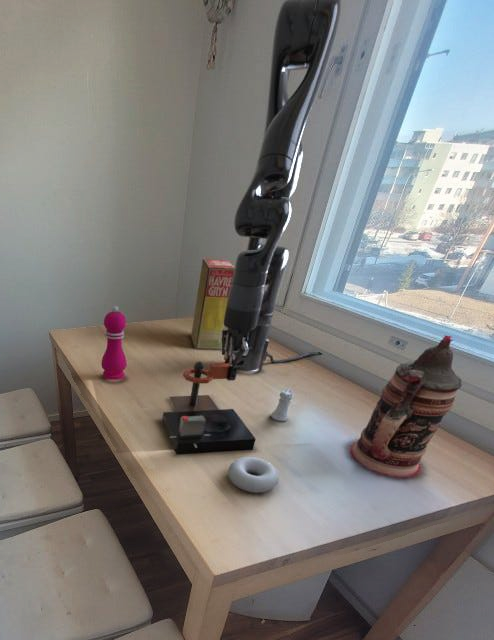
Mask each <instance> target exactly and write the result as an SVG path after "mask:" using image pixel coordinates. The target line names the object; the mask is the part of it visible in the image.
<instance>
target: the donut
mask: <svg viewBox="0 0 494 640" xmlns="http://www.w3.org/2000/svg"><path fill="white" fill-rule="evenodd" d="M227 473H228V478H229V480H230V481H231V483H232V485H234V486H236V487H237V488H238V489H240V490H243V491H245V492H249V493H252V494H253V493H254V494H260V493H266V492H269V491H272V490H274V488H275V487H276V486H277V485H278V484H279V477H280V475H279V472H278V470H277V469H276V467H275V466H273V464H271V463H270V462H268V460H265V459H262V458H260V457H254V456H244V457H240V458H237V459H235V460H234V461H233V462H231V463H230V465H229V467H228V469H227Z"/></svg>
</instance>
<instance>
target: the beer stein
mask: <svg viewBox="0 0 494 640" xmlns="http://www.w3.org/2000/svg"><path fill="white" fill-rule="evenodd" d="M451 338H452V335H444V336H442V339H441V340H439V341H440V342H439V343H438V344H437V345H435V346H429V347H428V348H426V349H425V350H423V352H422V353H421V354H420V355H419V356H418V357H417V359H415V360H414V361H412V360H411V361H409V362H404V363H400V364H399V365H397V366H396V369H395V371H394V373H393V375H392V376H391V377H390V379H389V381H388V382H387V383H386V384H385V385H384V386H383V387H382V389H381V396H380V398H379V400H377V402H376V406H375V407H374V409H373V411H372V413H371V416H370V419H369V420H368V423H367V424H366V427H365V428H363V429H362V430H361V433H360V437H359V438H358V440H357V441H355V442H353V443H352V444H350V446H349V454H350V457H351V459H353V460H354V461H355V462H356V463H358V464H359V465H361V466H362V467H364V468H365V469H369V470H371V472H374V473H377V474H380V475H384V476H388V477H391V478H398V479H402V480H404V478H413V477H415V476H417V475H419V473H421V464H420V463H421V459H422V457H423V456H424V455H425V454H426V453H427V449H428V444H429V443H430V442H431V439H432V438H433V437H434V436H435V434H436V433H437V431H438V429H439V427H441V425H442V420H443V418H444V416H446V414H447V413H448V412H450V411H451V410H452V409H453V406H454V401H455V399H456V396H457V393H458V390H459V389H461V387H462V385H463V383H462V378H461V377H460V376H458V375H457V374H456V372H455V371H454V369H453V368H452V366H453V365H452V363H453V359H454V352H453V350H452V349H451V346H450V345H451V342H453V341H454V339H453V338H452V339H451Z"/></svg>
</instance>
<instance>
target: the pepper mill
mask: <svg viewBox="0 0 494 640" xmlns="http://www.w3.org/2000/svg"><path fill="white" fill-rule="evenodd" d="M119 309H120V308H119V307H118V306H117V305H113V306H112V307H111V311H110V312H108V313H107V314H106V315H105V316H104V319H103V326H104V328H105V329H106V330H105V338H106V340H107V342H106V349H105V351H104V353H103V356H102V358H101V364H100V365H101V368H102V370H103V371H102V377H103V378H105V379H107V380H112V381H118V380H122V379H123V378H125V372H124V371H125V370H126V368H127V365H128V363H127V357H126V355H125V352H124V350H123V345H122V344H123V342H122V341H123V338H124V336H125V335H124V334H125V331H124V329H126V326H127V318H126V316H125V315H124V314H123V313H122V312H120V311H119Z"/></svg>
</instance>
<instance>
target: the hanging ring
mask: <svg viewBox="0 0 494 640" xmlns="http://www.w3.org/2000/svg"><path fill="white" fill-rule="evenodd" d="M208 367H209V368H208V370H207V369H204V368H203V370H202V374H201V375H204V376H205V377H201V378H196V377H194V376H192V375H191V374H194V371H195V369H194V367H188V368H186V369H184V371H183V372H182V376H183V378H184V380H185V381H187V382H191V383H192V384H193V383H197V384H209V383H210V382H212V381H213V380H227V379H226V377H227V372H228V367H229V363H225V362H210V363H209V366H208Z"/></svg>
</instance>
